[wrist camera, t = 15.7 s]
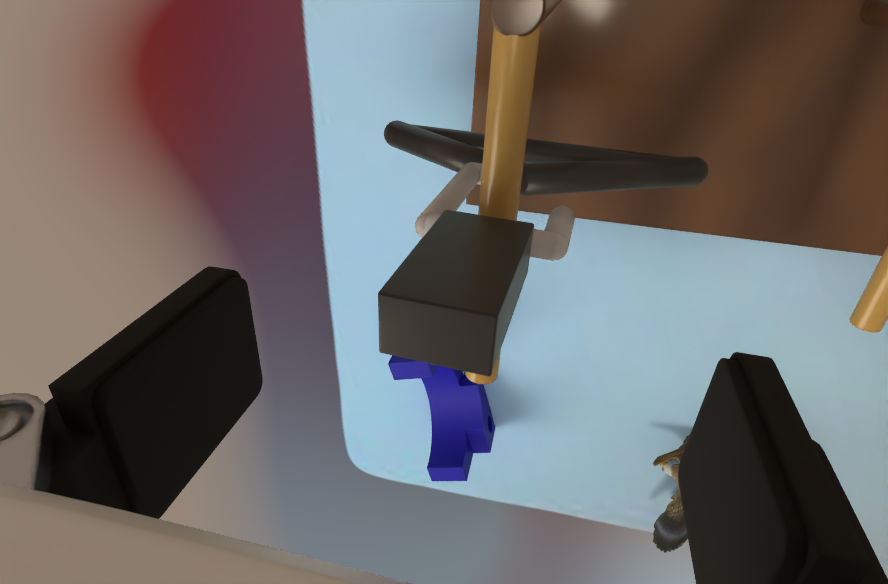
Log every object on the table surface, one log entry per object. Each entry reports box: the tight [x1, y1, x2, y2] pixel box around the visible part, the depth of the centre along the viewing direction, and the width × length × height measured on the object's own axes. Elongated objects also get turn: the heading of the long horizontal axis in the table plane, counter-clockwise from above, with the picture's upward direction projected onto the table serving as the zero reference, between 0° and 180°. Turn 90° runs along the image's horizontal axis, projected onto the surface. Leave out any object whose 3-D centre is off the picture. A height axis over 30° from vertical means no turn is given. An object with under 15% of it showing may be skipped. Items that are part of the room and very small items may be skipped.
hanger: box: [378, 121, 708, 377], centre depth 18 cm, size 14×2×15 cm, turn 87°
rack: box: [465, 0, 888, 384], centre depth 24 cm, size 26×14×21 cm, turn 87°
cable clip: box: [388, 355, 495, 481], centre depth 44 cm, size 12×4×6 cm, turn 15°
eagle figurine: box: [653, 436, 690, 552], centre depth 43 cm, size 8×7×9 cm
